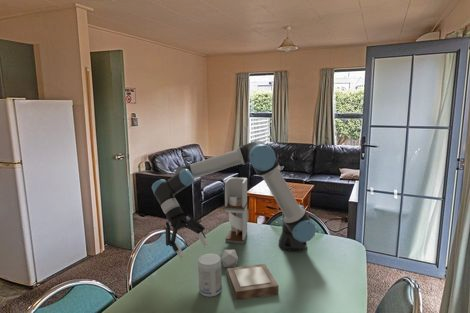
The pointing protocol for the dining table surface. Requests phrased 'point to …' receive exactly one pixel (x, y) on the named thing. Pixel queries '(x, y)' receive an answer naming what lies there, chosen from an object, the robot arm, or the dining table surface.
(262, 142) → the robot arm
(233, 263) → the die
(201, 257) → the supplement tub
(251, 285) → the walnut platform
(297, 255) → the dining table surface
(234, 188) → the display case
